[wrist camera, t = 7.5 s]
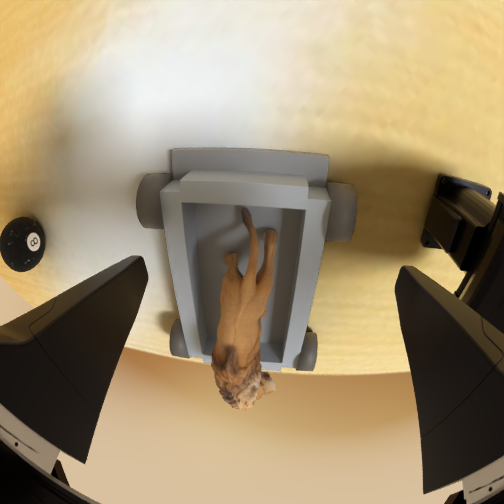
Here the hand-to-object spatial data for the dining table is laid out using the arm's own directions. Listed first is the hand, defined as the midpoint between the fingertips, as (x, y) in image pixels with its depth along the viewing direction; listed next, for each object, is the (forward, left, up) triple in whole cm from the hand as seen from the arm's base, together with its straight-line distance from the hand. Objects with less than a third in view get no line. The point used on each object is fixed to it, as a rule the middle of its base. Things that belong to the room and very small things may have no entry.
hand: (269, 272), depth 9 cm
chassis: (+2, +9, -12) cm, 15 cm away
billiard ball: (+27, +6, -12) cm, 30 cm away
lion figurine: (+1, +10, -11) cm, 15 cm away
